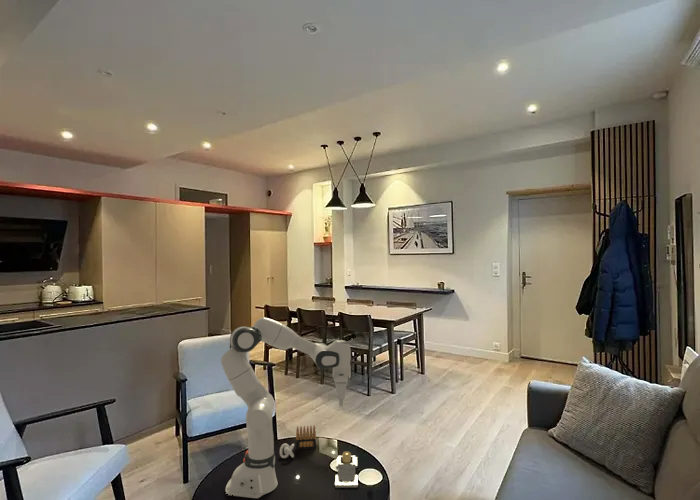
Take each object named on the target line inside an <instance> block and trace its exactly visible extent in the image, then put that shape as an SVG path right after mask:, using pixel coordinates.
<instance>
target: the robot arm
mask: <svg viewBox="0 0 700 500" xmlns="http://www.w3.org/2000/svg"><path fill="white" fill-rule="evenodd" d="M260 342H262V343H265V344H268V345H269V346H271V347H274V348H277V349H278V350H283V351H285V350H288V349H295V350H297V351H299V352H301V353H304V354H306V355H308V356H309V357H310V359H311V360H312V361H313V362H314V364H315V365H316V366H317V367H318V368H319V369H321V370H328V369H332V378H333V382H334V383H335V384H334V385H335V394H336V399H337V400H338V406H339V407H343V406H344V400H345V398H346V392H347V385H348V383H349V382H348V381H349V380H350V378H351V375H352V374H351V373H352V371H351V370H352V366H351V359H352V356H351V355H352V352H351V351H352V350H351V345H350V343H349V342H348V341H347V340H343V339H335V340H334V341H333V342H331V343H329V344H328V345H327V344H325V343H323V342H313V341H311V340H309V339H306V338H305V337H302V336H300V335H298V334H297V333H296V332H295V331H294V330H293V329H292V328H290V327H288V325H285V324H284V323H282V322H280V321H277V320H274V319H272V318H269V317H264V316H263V317H260V318H259V319H257V320H256V321H255V323H254V325H253V326H251V327H250V326H245V325H244V326H237V327H236V328H234V329H233V330H232V331H231V334H230V337H229V350H227V351H226V352H224V354H222V356H221V359H220V362H221V366H222V369H223V371H224V375H225V376H226V378H227V380H228V382H229V384H230V385H231V388H232V389H233V391H234V393H235V394H236V396H237V397H238V398H240V399H241V400H242V401H243V402H244V404H245V405H246V406H247V410H246V413H245V424H246V431H247V438H248V439H247V441H248V442H247V443H248V445H247V446H248V447H247V448H248V449H247V450H246V451H245V454H244V457H243V461H242V462H243V463H241V464H240V465H238V466H237V467H236V468H235V470H234V471H233V473H232V475H231V478H230V479H229V480H228V482H227V484H226V486H225V491H224V492H226V493H225V495H226V494H228V495H227V496H232V495H233V497H241V498H250V499H259V498H261V497H263V496H264V495H266V494H269V493H271V492H272V491H274V490H276V488H277V486H278V484H279V483H278V478H277V475H276V469H275V464H276V454H275V450H274V449H275V445H274V444H275V443H274V440H275V439H274V437H275V436H274V430H273V429H274V428H273V415H274V409H275V400H274V397H273V395H272V393H270V392H269V391H268V389H266V388H265V386H264V385H263V383H262V382H261V381H260V380H259V378H258V376H257V374H256V372H255V370H254V369H253V367H252V365H251V363H250V362H249V360H248V357H247V353H248V352H251V351H252V350H254V349H255V347H257V346H258V345H259V343H260Z"/></svg>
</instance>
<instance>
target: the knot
mask: <svg viewBox="0 0 700 500" xmlns="http://www.w3.org/2000/svg"><path fill="white" fill-rule="evenodd" d="M295 447H296V443H292V444H291V445H289V444H288V443H283V444H281V446H280V447H279V456H280V457H281V459H287V458H288V457H289V456H290V457H291V458H292V459H294V457H295V454H294V452H293V450H294V448H295ZM283 452H284V454H283Z"/></svg>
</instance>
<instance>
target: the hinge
mask: <svg viewBox="0 0 700 500" xmlns="http://www.w3.org/2000/svg"><path fill="white" fill-rule="evenodd" d="M336 469H337V474H335V481H334V486H335V487H334V488H336V489H341V488H344V489H348V488H351V489H352V488H353V489H355V488H358V487H359V483H358V481H359V480H358V477H359V476H358V474H356V469H358V456H356V455H351V463H343V461H342V455H338V456H337V458H336Z"/></svg>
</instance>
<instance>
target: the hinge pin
mask: <svg viewBox="0 0 700 500" xmlns="http://www.w3.org/2000/svg"><path fill="white" fill-rule="evenodd" d="M341 454H342V455H341V456H342V461H343V463H351V456H352V453H351V452H350V451H343V452H342V453H341Z"/></svg>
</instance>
